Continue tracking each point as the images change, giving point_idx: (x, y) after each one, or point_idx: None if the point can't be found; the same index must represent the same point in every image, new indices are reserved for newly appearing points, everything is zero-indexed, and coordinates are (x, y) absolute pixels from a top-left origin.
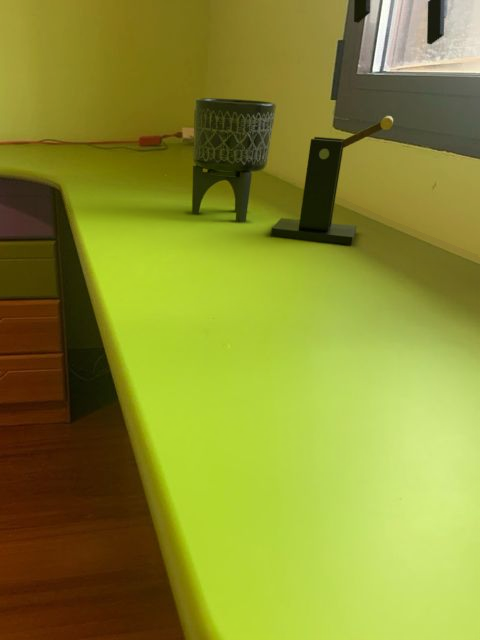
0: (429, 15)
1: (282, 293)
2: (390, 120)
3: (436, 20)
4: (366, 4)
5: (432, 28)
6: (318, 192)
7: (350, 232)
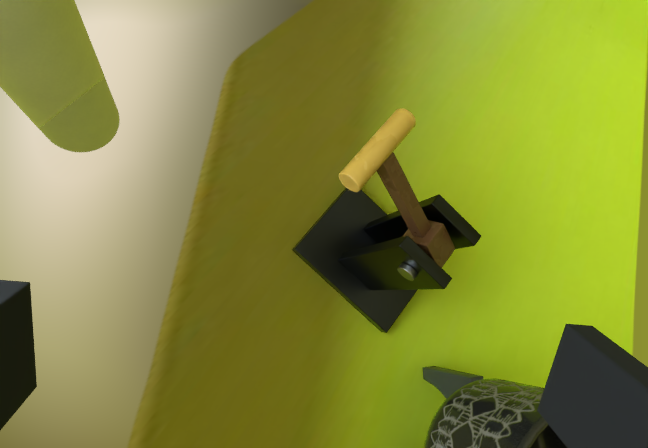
0: None
1: (523, 52)
2: (404, 110)
3: None
4: (619, 346)
5: None
6: None
7: (336, 208)
